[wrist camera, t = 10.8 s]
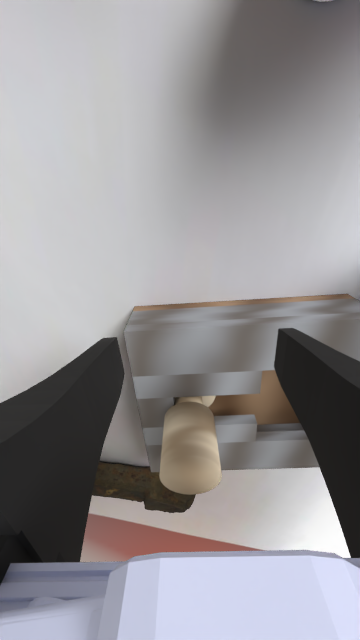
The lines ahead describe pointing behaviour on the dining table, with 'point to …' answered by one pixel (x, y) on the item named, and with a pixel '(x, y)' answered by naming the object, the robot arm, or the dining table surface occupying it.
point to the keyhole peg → (190, 447)
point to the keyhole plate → (233, 370)
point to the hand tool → (139, 487)
